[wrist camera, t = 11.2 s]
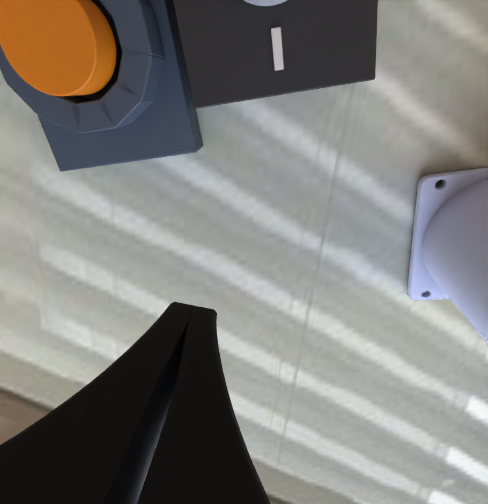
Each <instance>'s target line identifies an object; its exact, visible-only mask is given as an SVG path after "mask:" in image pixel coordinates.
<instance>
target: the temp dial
mask: <svg viewBox="0 0 488 504" xmlns="http://www.w3.org/2000/svg"><path fill="white" fill-rule="evenodd" d="M244 1H246V2H248V3H250V4H253V5H258V6H272V5H277V4H280V3H283V2H285V1H287V0H244Z"/></svg>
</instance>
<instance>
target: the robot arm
mask: <svg viewBox="0 0 488 504" xmlns="http://www.w3.org/2000/svg"><path fill="white" fill-rule="evenodd" d="M441 179H442V184H441V185H440V186H439V187H435V184H436V182H437V181H438V180H441ZM426 290H427V292H426V293H424V294H422V292H424V291H426ZM407 295H408V296H409V298H410V299H412V300H415V301H418V300H432V299H446V298H450V299H451V301H452V302H453V303H454V304H455V305H456V307H457V308H458V309H459V310H460V311H461V313H462V314H463V315H464V316H465V317H466V319H467V320H468V321H469V322H470V323H471V325H472V326H473V327H474V328H475V329H476V331H477V332H478V333H479V334H480V335H481V337H482V338H483V339H484V340H485V341H486V343H487V344H488V168H479V169H471V170H463V171H454V172H446V173H438V174H429V175H426V176H424V177H422V178H421V179H420V181H419V183H418V188H417V198H416V208H415V218H414V228H413V238H412V248H411V258H410V268H409V278H408V288H407ZM216 318H217V313H216V311H215V310H213V309H208V308H203V307H198V306H193V305H188V304H183V303H178V302H173V303H171V304H170V305H169V307H168V308H167V309H166V310H165V312H164V313H163V314H162V315H161V316H160V317H159V319H158V320H157V321H156V322H155V323H154V324H153V325H152V326H151V327H150V328H149V329H148V331H147V332H146V333H145V334H144V335H143V336H142V337H141V338H139V339H138V340H137V341H136V342H135V343H134V344H133V345H132V346H131V347H130V348H129V349H128V350H127V351H126V352H125V353H124V354H123V355H122V356H121V357H119V358H118V359H117V360H116V361H115V362H114V363H113V364H112V365H110V366H109V367H108V368H107V369H106V370H105V371H104V372H102V373H101V374H100V375H99V376H98V377H96V378H95V379H94V380H93V381H91V382H90V383H89V384H88V385H86V386H85V387H84V388H83V389H81V390H80V391H79V392H77V393H76V394H75V395H73V396H72V397H71V398H69V399H68V400H67V401H65V402H64V403H63V404H61V405H60V406H58V407H57V408H55V409H54V410H53V411H51V412H50V413H48V414H47V415H45V416H44V417H43V418H41V419H40V420H38V421H37V422H35V423H34V424H32V425H31V426H29V427H28V428H27V429H25V430H24V431H22V432H21V433H19V434H17V435H16V436H14V437H13V438H11V439H9V440H8V441H6V442H4V443H3V444H1V445H0V504H270V502H269V499H268V497H267V495H266V493H265V490H264V488H263V486H262V483H261V481H260V479H259V476H258V474H257V472H256V470H255V467H254V465H253V463H252V460H251V458H250V455H249V453H248V450H247V448H246V445H245V442H244V440H243V437H242V434H241V431H240V428H239V426H238V423H237V420H236V417H235V414H234V410H233V407H232V404H231V400H230V397H229V393H228V390H227V386H226V382H225V378H224V373H223V369H222V364H221V359H220V353H219V347H218V339H217V328H216ZM159 436H160V437H159ZM158 439H159V440H158ZM157 442H158V443H157ZM156 444H157V446H156ZM155 447H156V449H155ZM154 450H155V452H154ZM153 452H154V455H153ZM152 455H153V458H152ZM151 458H152V461H151V464H150V467H149V470H148V473H147V476H146V479H145V482H144V478H145V475H146V472H147V469H148V466H149V463H150V460H151ZM143 482H144V484H143ZM142 485H143V487H142ZM141 488H142V490H141ZM140 492H141V493H140Z"/></svg>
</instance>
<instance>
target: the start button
mask: <svg viewBox="0 0 488 504" xmlns="http://www.w3.org/2000/svg"><path fill="white" fill-rule="evenodd" d="M0 45H1V47H2V50H3V52H4V54H5V56H6V58H7V60H8V61H9V63H10V65H11V66H12V67H13V69H14V70H15V71H16V72H17V74H18V75H19V76H20V77H21V78H22V79H23V80H24V81H26V82H27V83H28V84H29V85H31V86H32V87H34V88H35V89H37V90H39V91H41V92H43V93H46V94H49V95H53V96H75V95H89V94H93V93H95V92H97V91H99V90H101V89H102V88H103V87H104V86H105V85H106V84H107V83H108V82H109V81H110V79H111V77H112V75H113V72H114V69H115V65H116V43H115V39H114V35H113V32H112V29H111V27H110V25H109V23H108V21H107V19H106V17H105V16H104V14H103V13H102V12H101V10H100V9H99V8H98V7H97V6H96V5H95V4H94V3H93V2H92V1H91V0H0Z"/></svg>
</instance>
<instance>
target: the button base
mask: <svg viewBox="0 0 488 504" xmlns="http://www.w3.org/2000/svg"><path fill="white" fill-rule="evenodd" d="M91 1H92V2H93V3H94V4H95V5H96V6H97V7H98V8H99V9H100V10H101V12H102V13H103V14H104V16H105V17H106V19H107V21H108V23H109V25H110V27H111V29H112V32H113V35H114V39H115V43H116V65H115V69H114V72H113V75H112V77H111V79H110V81H109V82H108V83H107V84H106V85H105V86H104V87H103V88H102V89H101V90H99V91H97V92H95V93H93V94H89V95H75V96H53V95H49V94H46V93H43V92H41V91H39V90H37V89H35V88H34V87H32V86H31V85H29V84H28V83H27V82H26V81H24V80H23V79H22V78H21V77H20V76H19V75H18V74H17V72H16V71H15V70H14V69H13V67H12V66H11V65H10V63H9V61H8V60H7V58H6V56H5V54H4V52H3V50H2V47H1V45H0V69H1V71H2V74H3V76H4V78H5V81H6V82H7V84H8V85H9V86H10V87H11V88H12V89H13V90H14V91H15V92H16V93H17V94H18V95H19V96H20V97H21V98H22V99H23V100H24V101H25V102H26V103H27V104H28V105H29V107H30V108H31V109H32V110H33V111H34V112H35V113H36V114H37V115H38V117H39V120H40V122H41V125H42V127H43V130H44V132H45V134H46V137H47V139H48V142H49V144H50V147H51V149H52V152H53V154H54V157H55V159H56V161H57V164H58V166H59V169H60V171H68V170H75V169H82V168H89V167H96V166H103V165H110V164H117V163H124V162H131V161H138V160H145V159H152V158H159V157H166V156H173V155H180V154H188V153H195V152H197V151H198V150H199V149H200V148H201V147H202V146H203V144H202V139H201V134H200V129H199V124H198V119H197V114H196V109H195V108H194V104H193V99H192V94H191V89H190V84H189V79H188V74H187V69H186V64H185V59H184V54H183V49H182V44H181V39H180V34H179V29H178V24H177V19H176V13H175V8H174V3H173V0H91Z"/></svg>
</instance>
